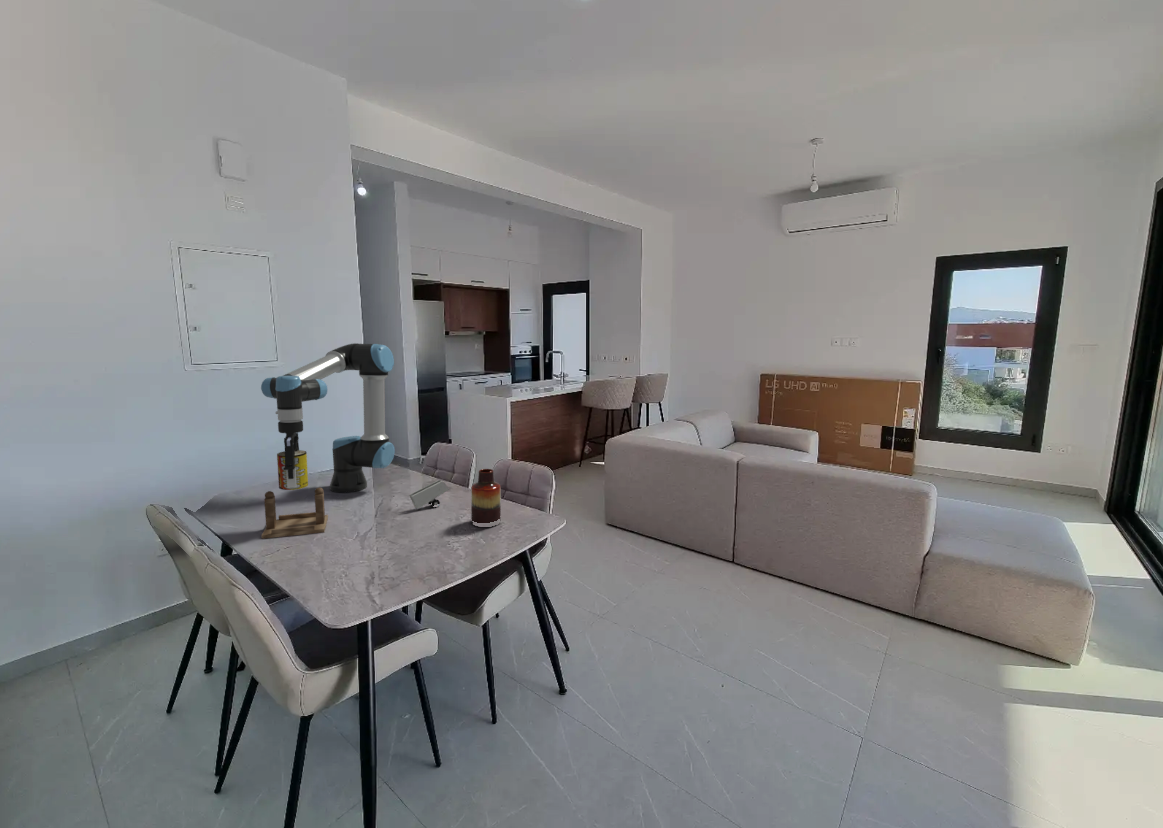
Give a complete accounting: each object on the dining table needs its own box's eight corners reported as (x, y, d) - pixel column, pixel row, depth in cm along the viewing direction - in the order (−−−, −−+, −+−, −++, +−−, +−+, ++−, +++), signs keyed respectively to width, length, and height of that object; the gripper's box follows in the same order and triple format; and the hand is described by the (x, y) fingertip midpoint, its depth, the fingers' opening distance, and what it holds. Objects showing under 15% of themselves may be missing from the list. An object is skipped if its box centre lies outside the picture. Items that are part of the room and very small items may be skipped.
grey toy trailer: (421, 517, 204) (453, 497, 212) (412, 496, 200) (445, 477, 209) (417, 514, 207) (448, 494, 215) (408, 494, 203) (440, 475, 212)
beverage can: (275, 485, 180) (273, 452, 179) (302, 481, 187) (301, 449, 185) (284, 491, 174) (282, 457, 173) (312, 486, 181) (310, 453, 179)
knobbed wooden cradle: (327, 517, 194) (326, 481, 191) (324, 532, 180) (322, 493, 178) (270, 523, 186) (267, 485, 184) (261, 538, 173) (258, 498, 171)
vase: (506, 523, 194) (506, 470, 191) (482, 530, 186) (482, 476, 183) (488, 515, 201) (489, 465, 198) (465, 522, 193) (465, 470, 190)
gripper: (283, 416, 186) (286, 476, 189) (272, 426, 166) (276, 493, 169) (306, 415, 188) (309, 474, 192) (298, 425, 169) (301, 491, 172)
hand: (293, 483), depth 181 cm, fingers closed on beverage can, 9 cm apart
